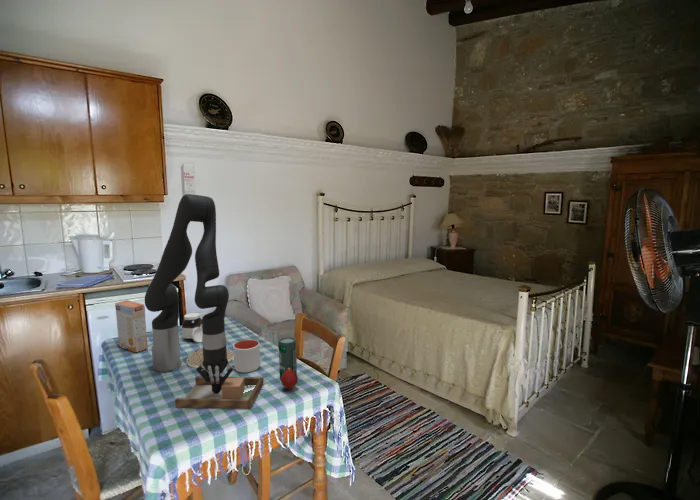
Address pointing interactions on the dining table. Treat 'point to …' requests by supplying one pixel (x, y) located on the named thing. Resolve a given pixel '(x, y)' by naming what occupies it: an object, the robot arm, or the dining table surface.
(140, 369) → the dining table surface
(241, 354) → the cup
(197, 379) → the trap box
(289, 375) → the red oval fruit
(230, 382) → the block
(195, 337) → the spread jar
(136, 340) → the cracker box
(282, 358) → the can
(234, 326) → the dining table surface
